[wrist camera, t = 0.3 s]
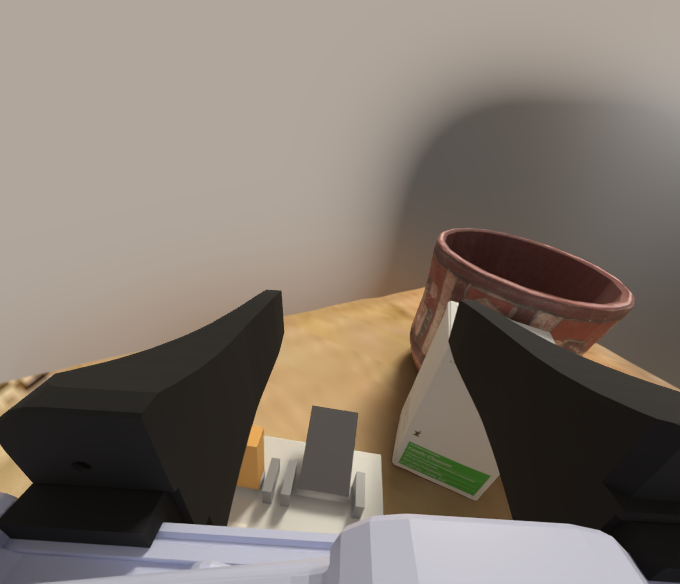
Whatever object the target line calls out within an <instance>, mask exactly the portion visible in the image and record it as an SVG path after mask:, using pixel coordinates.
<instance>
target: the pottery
mask: <svg viewBox="0 0 680 584" xmlns="http://www.w3.org/2000/svg"><path fill="white" fill-rule="evenodd" d="M460 300H466V301H476V302H479V303H481V304H483V305H485V306H487V307H489V308H490V309H492V310H494V311H496V312H498V313H499V314H501V315H503V316H504V317H507V318H509V319H511V320H513V321H516V322H519V323H522V324H525V325H528V326H531V327H535V328H538V329H541V330H544V331H547V332H550V333H551V335H552V337H553V339H554V341H555V343H556V345H558V346H560V347H562V348H564V349H567V350H569V351H571V352H573V353H575V354H578V355H580V356H582V355H583V354H584V353H585V352H586V351H587V350H588V349H589V348H590V347H591V346H592V345H593V344H595V343H596V342H597V341H598V340H599V339H600V338H601V337H602V336H603V335H605V334H606V333H607V332H608V331H609V330H610V329H611V328H612V327H614V326H615V325H616V324H617V323H618V322H619V321H620V320H621V319H622V318H624V317H625V315H626V314H627V313H628V312H629V311H630V310H631V309H632V308H633V307H634V300H635V296H633V294H632V293H631V292H630V291H629V290H628V289H627V288H626V287H625V286H624V285H623V284H622V283H621V282H620V280H618V279H617V278H615V277H614V276H612V275H610V274H609V273H607V272H606V271H604V270H602V269H601V268H599V267H597V266H595V265H593V264H591V263H589V262H587V261H585V260H583V259H580V258H578V257H576V256H574V255H571V254H569V253H566V252H564V251H561V250H558V249H556V248H553V247H551V246H548V245H544V244H541V243H538V242H535V241H532V240H529V239H525V238H521V237H517V236H514V235H509V234H505V233H500V232H495V231H490V230H483V229H472V228H463V229H462V228H461V229H451V230H448V231H445V232H442V233H440V235H439V237H438V239H437V242H436V245H435V248H434V252H433V257H432V262H431V268H430V273H429V276H428V280H427V284H426V287H425V291H424V294H423V297H422V300H421V302H420V305H419V308H418V310H417V313H416V316H415V318H414V321H413V323H412V327H411V332H410V344H411V351H412V356H413V360H414V364H415V366H416V367H417V369H418V371H419V370H420V368H421V366H422V364H423V361H424V359H425V357H426V354H427V352H428V350H429V348H430V345H431V343H432V341H433V339H434V336H435V334H436V332H437V329H438V327H439V325H440V323H441V320H442V318H443V316H444V313H445V310H446V307H447V304H448V302H450V301H454V302H457V303H459V301H460Z"/></svg>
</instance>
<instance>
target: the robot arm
mask: <svg viewBox="0 0 680 584" xmlns="http://www.w3.org/2000/svg"><path fill="white" fill-rule="evenodd" d="M283 335H284V322H283V307H282V292H281V291H278V290H265V291H263V292H262V293H260V294H259V295H257V296H255V297H254V298H252V299H251V300H249V301H248V302H246V303H245V304H243V305H241V306H240V307H238V308H237V309H235V310H233V311H232V312H230V313H228V314H227V315H225V316H223V317H221V318H220V319H218V320H216V321H214V322H213V323H211V324H209V325H207V326H205V327H203V328H201V329H198V330H197V331H194V332H192V333H190V334H188V335H185V336H183V337H180V338H178V339H175V340H173V341H170V342H167V343H165V344H162V345H159V346H157V347H154V348H151V349H148V350H145V351H142V352H139V353H136V354H132V355H129V356H125V357H122V358H119V359H115V360H111V361H108V362H104V363H100V364H95V365H91V366H87V367H83V368H79V369H74V370H70V371H66V372H61V373H56V374H54V375H53V376H52V377H50V378H49V379H48V380H47V381H45V382H44V383H43V384H41V385H40V386H39V387H38V388H36V389H35V390H34V391H32V392H31V393H30V394H29V395H27V396H26V397H25V398H24V399H22V400H21V401H20V402H18V403H17V404H16V405H15V406H13V407H12V408H11V409H9V410H8V411H7V412H6V413H4V414H3V415H2V416H1V417H0V444H1V446H2V447H3V449H4V450H5V452H6V453H7V454H8V455H9V456H10V457H11V458H12V460H13V461H14V462H15V463H16V464H17V465H18V466H19V468H20V469H21V470H22V471H23V472H24V473H25V474H26V476H27V477H28V478H29V479H30V480H31V481H32V482H33V484H32V485H31V486H30V487H29V488H28V489H27V490H26V491H25V492H24V493H23V494H22V495H21V497H20V498H19V499H18V498H17V497H14V496H12V495H9V494H6V493H1V492H0V584H680V392H678V391H675V390H672V389H669V388H666V387H663V386H660V385H657V384H653V383H650V382H647V381H645V380H642V379H639V378H636V377H633V376H630V375H628V374H625V373H622V372H620V371H617V370H614V369H612V368H609V367H606V366H604V365H601V364H599V363H596V362H594V361H591V360H589V359H587V358H584V357H582V356H580V355H578V354H575V353H573V352H571V351H569V350H567V349H564V348H562V347H560V346H558V345H556V344H554V343H552V342H550V341H548V340H546V339H544V338H542V337H540V336H538V335H537V334H535V333H533V332H531V331H529V330H527V329H525V328H524V327H522V326H520V325H518V324H517V323H515V322H513V321H511V320H510V319H508V318H506V317H504V316H503V315H501V314H499V313H498V312H496V311H494V310H492V309H490V308H489V307H487V306H485V305H483V304H481V303H479V302H476V301H466V300H460V301H459V305H458V308H457V312H456V315H455V319H454V322H453V326H452V329H451V333H450V336H449V340H448V342H449V346H450V349H451V353H452V356H453V359H454V362H455V365H456V367H457V369H458V371H459V373H460V375H461V378H462V380H463V382H464V384H465V386H466V388H467V390H468V392H469V394H470V396H471V398H472V401H473V403H474V405H475V407H476V409H477V411H478V413H479V416H480V418H481V420H482V423H483V425H484V428H485V431H486V434H487V437H488V440H489V442H490V445H491V448H492V451H493V454H494V457H495V461H496V464H497V467H498V470H499V473H500V476H501V479H502V483H503V486H504V490H505V493H506V497H507V500H508V504H509V507H510V511H511V514H512V518H513V520H500V519H484V518H469V517H453V516H437V515H421V514H392V515H378V516H371V517H368V518H366V519H363V520H361V521H358V522H356V523H353V524H350V525H348V526H346V528H345V529H344V530H343V531H342V532H341V533H340V534H335V533H319V532H304V531H288V530H273V529H257V528H242V527H227V524H228V520H229V515H230V511H231V506H232V502H233V498H234V493H235V489H236V485H237V481H238V477H239V473H240V469H241V465H242V461H243V457H244V454H245V450H246V446H247V442H248V439H249V435H250V431H251V428H252V424H253V421H254V417H255V414H256V410H257V407H258V405H259V402H260V399H261V396H262V394H263V391H264V389H265V387H266V384H267V382H268V379H269V377H270V374H271V372H272V369H273V367H274V364H275V362H276V359H277V357H278V354H279V351H280V347H281V343H282V339H283Z"/></svg>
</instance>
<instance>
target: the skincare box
mask: <svg viewBox="0 0 680 584" xmlns="http://www.w3.org/2000/svg"><path fill="white" fill-rule="evenodd" d="M458 305H459V303H457V302H454V301H450V302H448V304H447V307H446V310H445V313H444V316H443V318H442V320H441V323H440V325H439V327H438V329H437V332H436V334H435V336H434V339H433V341H432V343H431V345H430V348H429V350H428V352H427V354H426V357H425V359H424V361H423V364H422V366H421V368H420V370H419V373H418V375H417V377H416V379H415V382H414V384H413V386H412V389H411V391H410V393H409V395H408V397H407V400H406V402H405V404H404V406H403V409H402V411H401V415H400V419H399V424H398V429H397V435H396V440H395V446H394V451H393V457H392V463H393V464H394V465H396V466H398V467H401V468H403V469H406V470H408V471H410V472H412V473H414V474H416V475H418V476H420V477H423V478H425V479H427V480H430V481H432V482H434V483H436V484H439V485H441V486H443V487H445V488H448V489H450V490H452V491H454V492H457V493H459V494H461V495H463V496H465V497H467V498H469V499H472V500H475V501H477V500H478V499H479V498H480V497H481V495H482V494H483V493H484V492H485V491H486V490H487V489H488V487H489V486H490V485H491V484H492V483H493V482H494V481H495V480H496V479H497V477H498V476H499V475H500V473H499V470H498V467H497V464H496V461H495V457H494V454H493V451H492V448H491V445H490V442H489V440H488V437H487V434H486V431H485V428H484V425H483V423H482V420H481V418H480V416H479V413H478V411H477V409H476V407H475V405H474V403H473V401H472V398H471V396H470V394H469V392H468V390H467V388H466V386H465V384H464V382H463V380H462V378H461V375H460V373H459V371H458V369H457V367H456V365H455V362H454V359H453V356H452V353H451V349H450V346H449V342H448V340H449V336H450V333H451V329H452V326H453V322H454V319H455V315H456V312H457V308H458ZM506 318H507V317H506ZM508 319H509V318H508ZM510 320H511V319H510ZM511 321H513V320H511ZM513 322H515V323H517V324H518V325H520V326H522V327H524V328H525V329H527V330H529V331H531V332H533V333H535V334H537V335H538V336H540V337H542V338H544V339H546V340H548V341H550V342H552V343H554V344H556V343H555V341H554V339H553V337H552V335H551V333H550V332H547V331H544V330H541V329H538V328H535V327H531V326H528V325H525V324H522V323H519V322H516V321H513Z"/></svg>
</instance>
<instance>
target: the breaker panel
mask: <svg viewBox="0 0 680 584" xmlns="http://www.w3.org/2000/svg"><path fill="white" fill-rule="evenodd" d="M305 445H306V442H300V441H294V440H288V439H282V438H276V437H270V436H264V468H265V478H264V482H263V486H262V488H261V489H259V490H257V489H251V488H245V487H239V486H236V489H235V493H234V498H233V502H232V506H231V511H230V515H229V520H228V524H227V527H242V528H257V529H273V530H288V531H304V532H319V533H335V534H340V533H341V532H342V531H343V530H344V529H345V528H346V526H348V525H350V524H353V523H356V522H358V521H361V520H363V519H366V518H368V517H371V516H378V515H383V492H382V467H381V455H380V454H373V453H367V452H361V451H355V450H354V455H353V464H352V473H351V482H350V487H351V490H350V500H349V504H347V503H341V502H334V501H328V500H322V499H316V498H310V497H304V496H298V495H296V490H297V484H298V479H299V477H300V474H301V468H302V463H303V457H304V451H305Z"/></svg>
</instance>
